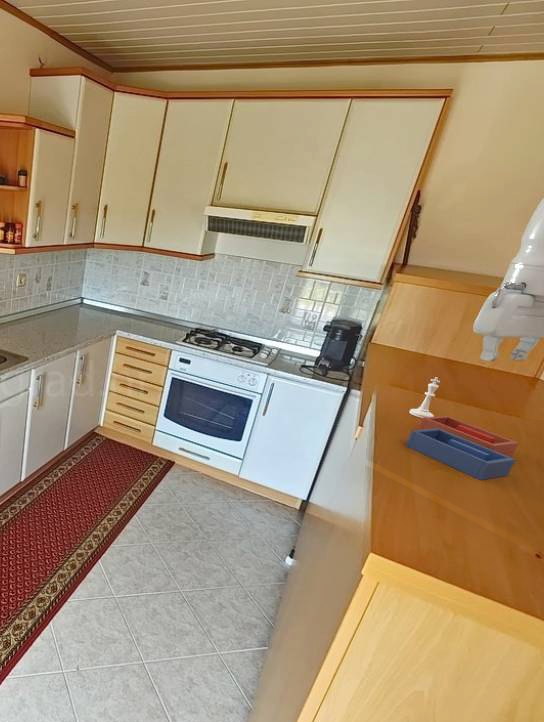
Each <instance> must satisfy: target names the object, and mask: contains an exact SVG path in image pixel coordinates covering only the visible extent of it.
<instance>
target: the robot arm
mask: <svg viewBox="0 0 544 722" xmlns="http://www.w3.org/2000/svg"><path fill="white" fill-rule="evenodd" d="M472 331H473V333H474V334H478V335H482V336H483V338H482V352H481V354H480V356H479V358H480V359H481V360H483V361H485V362H496V361H497V359H498V357H499V355H500V352H499V347H500V344H501V343H502V342H503V340H504V338H519V341H520V342H519V343H518V345H517V346H516V347H515V348H514V349H512V351H511V353H510V355H509V358H510V359H511V360H514V361H518V362H519V361H520V362H521V361H526V360H527V357H528V355H529V353H530V352H531V351H532V350H533V349H534V348H535V347H536V346H537V345H538V344H539V341H540V340H541V339H544V197H543V198H542V199H541V201H540V202H539V203H538V205H537V206H536V208H535V210H534V212H533V213H532V215H531V217H530V219H529V221H528V223H527V225H526V227H525V229H524V232H523V234H522V235H521V240H520V248H519V250H518V252H517V253H516V255H515V256H514V257H513V259H512V260H511V261H510V264H509V265H508V268H507V270H506V272H505V275H504V278H503V280H502V282H501V284H500V286H499V287H498V288H497V289H496V291H493V292H492V293H490V294H489V296H488V297H487V298H486V300H485V301H484V303H483V304H482V306H481V308H480V311H479V312H478V314H477V316H476V318H475V320H474V323H473V325H472Z"/></svg>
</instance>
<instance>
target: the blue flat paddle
mask: <svg viewBox="0 0 544 722" xmlns="http://www.w3.org/2000/svg"><path fill="white" fill-rule="evenodd" d="M447 445H450V446H452V447H454V448H457V449H459V450H461V451H464V452H466V453H468V454H471V455H473V456H476V457H478V458H480V459H483V460H485V461H487V459H488V457H489V454H487V453H485V452H482V451H480V450H477V449H475V448H473V447H470V446H468V445H465V444H463V443H460V442H458V441H456V440H453V439H451V440H449V442H448V444H447Z"/></svg>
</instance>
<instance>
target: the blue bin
mask: <svg viewBox="0 0 544 722" xmlns="http://www.w3.org/2000/svg"><path fill="white" fill-rule="evenodd" d="M451 439H453V440H456V441H458V442H460V443H463V444H465V445H468V446H470V447H473V448H475V449H477V450H480V451H482V452H485V453H487V454H489V457H488V459H487V461H485V460H483V459H480V458H478V457H476V456H473V455H471V454H468V453H466V452H464V451H461V450H459V449H457V448H454V447H452V446H450V445H447V444H448V442H449V440H451ZM405 447H408V448H409V449H412V450H414V451H416V452H418V453H420V454H422V455H425V456H427V457H429V458H431V459H434V460H436V461H438V462H440V463H442V464H445V465H447V466H449V467H451V468H453V469H456V470H457V471H460V472H461V473H464V474H466V475H468V476H470V477H473V478H474V479H477V480H479V481H485V480H491V479H497V478H503V477H508V476H509V474H510V472H511V470H512V467H513V466H514V464H515V462H516V459H515V458H513V457H511V458H510V457H508V456H505V455H503V454H500V453H498V452H495V451H493V450H491V449H488V448H486V447H483V446H481V445H478V444H476V443H473V442H471V441H468V440H466V439H463V438H461V437H458V436H456V435H453V434H451V433H448V432H446V431H443V430H441V429H438V428H435V429H425V430H418V429H415V430H411V432H410V434H409V436H408V439H407V442H406V443H405Z"/></svg>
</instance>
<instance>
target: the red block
mask: <svg viewBox="0 0 544 722" xmlns="http://www.w3.org/2000/svg"><path fill="white" fill-rule="evenodd" d="M456 430H459V431H461V432H464V433H466V434H469V435H471V436H474V437H477V438H479V439H482V440H484V441H487V442H489V443H492V444H493V442H494V439H495V438H493V437H490V436H488V435H485V434H483V433H480V432H477V431H475V430H472V429H470V428H467V427H464V426H462V425H458V427H457V429H456Z"/></svg>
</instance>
